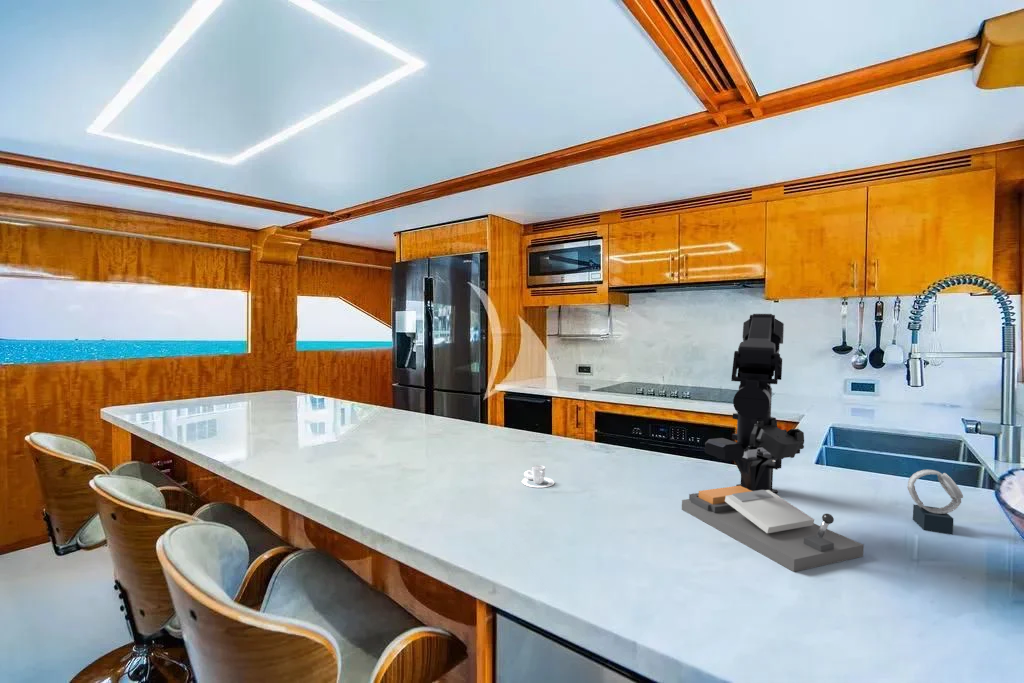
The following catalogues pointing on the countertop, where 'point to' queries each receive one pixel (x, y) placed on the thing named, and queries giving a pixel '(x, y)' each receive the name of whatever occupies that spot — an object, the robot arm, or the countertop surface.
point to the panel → (776, 537)
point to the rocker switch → (768, 511)
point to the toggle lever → (825, 524)
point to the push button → (720, 494)
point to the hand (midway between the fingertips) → (751, 489)
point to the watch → (934, 516)
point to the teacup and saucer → (537, 477)
